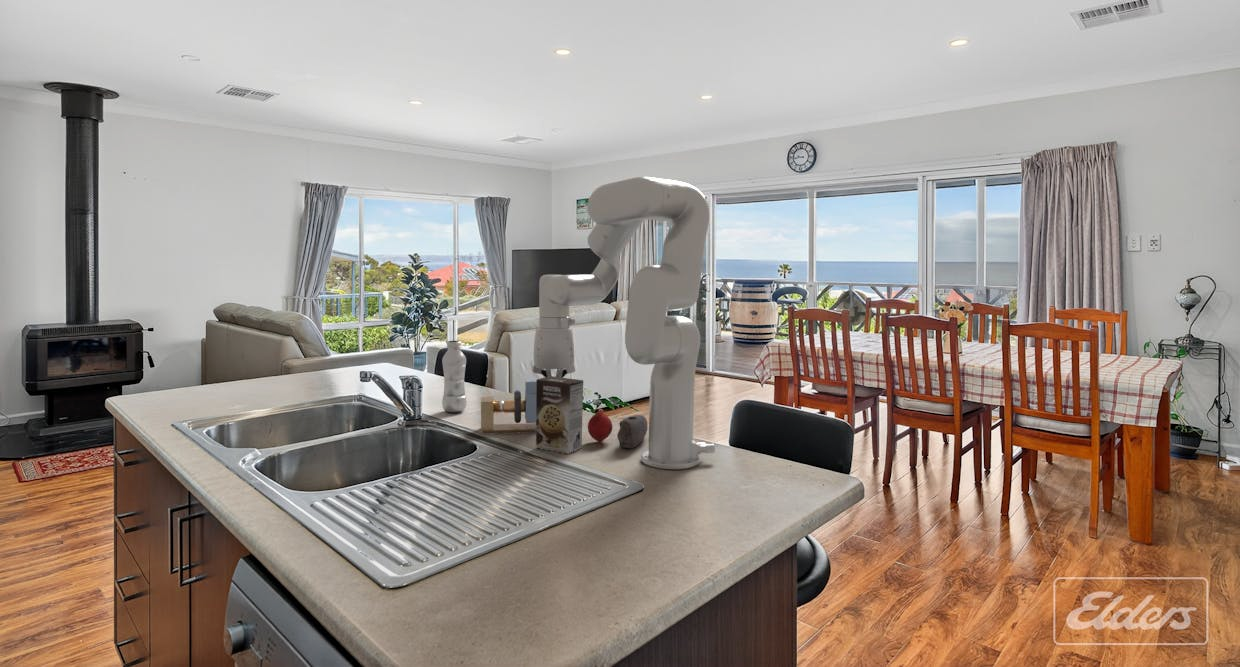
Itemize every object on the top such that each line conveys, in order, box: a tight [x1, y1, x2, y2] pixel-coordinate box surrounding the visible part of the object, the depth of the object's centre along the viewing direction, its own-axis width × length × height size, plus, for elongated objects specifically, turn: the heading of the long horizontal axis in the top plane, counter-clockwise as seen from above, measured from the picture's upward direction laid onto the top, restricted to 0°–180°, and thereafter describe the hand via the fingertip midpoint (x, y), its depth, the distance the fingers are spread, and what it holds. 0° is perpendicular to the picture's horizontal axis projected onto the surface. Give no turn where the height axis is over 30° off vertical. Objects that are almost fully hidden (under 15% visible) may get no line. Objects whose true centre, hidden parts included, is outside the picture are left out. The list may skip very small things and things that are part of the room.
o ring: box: [513, 390, 522, 424], centre depth 171 cm, size 2×8×8 cm, turn 10°
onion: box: [587, 408, 613, 443], centre depth 161 cm, size 6×6×8 cm
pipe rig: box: [480, 396, 536, 434], centre depth 171 cm, size 17×6×8 cm, turn 100°
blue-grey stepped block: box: [524, 379, 537, 424], centre depth 171 cm, size 4×7×10 cm, turn 10°
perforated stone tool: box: [617, 414, 649, 449], centre depth 160 cm, size 15×5×7 cm, turn 159°
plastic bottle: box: [441, 340, 467, 414], centre depth 189 cm, size 6×7×20 cm
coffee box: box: [535, 376, 584, 455], centre depth 154 cm, size 9×6×16 cm
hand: (553, 395), depth 172 cm, fingers closed
